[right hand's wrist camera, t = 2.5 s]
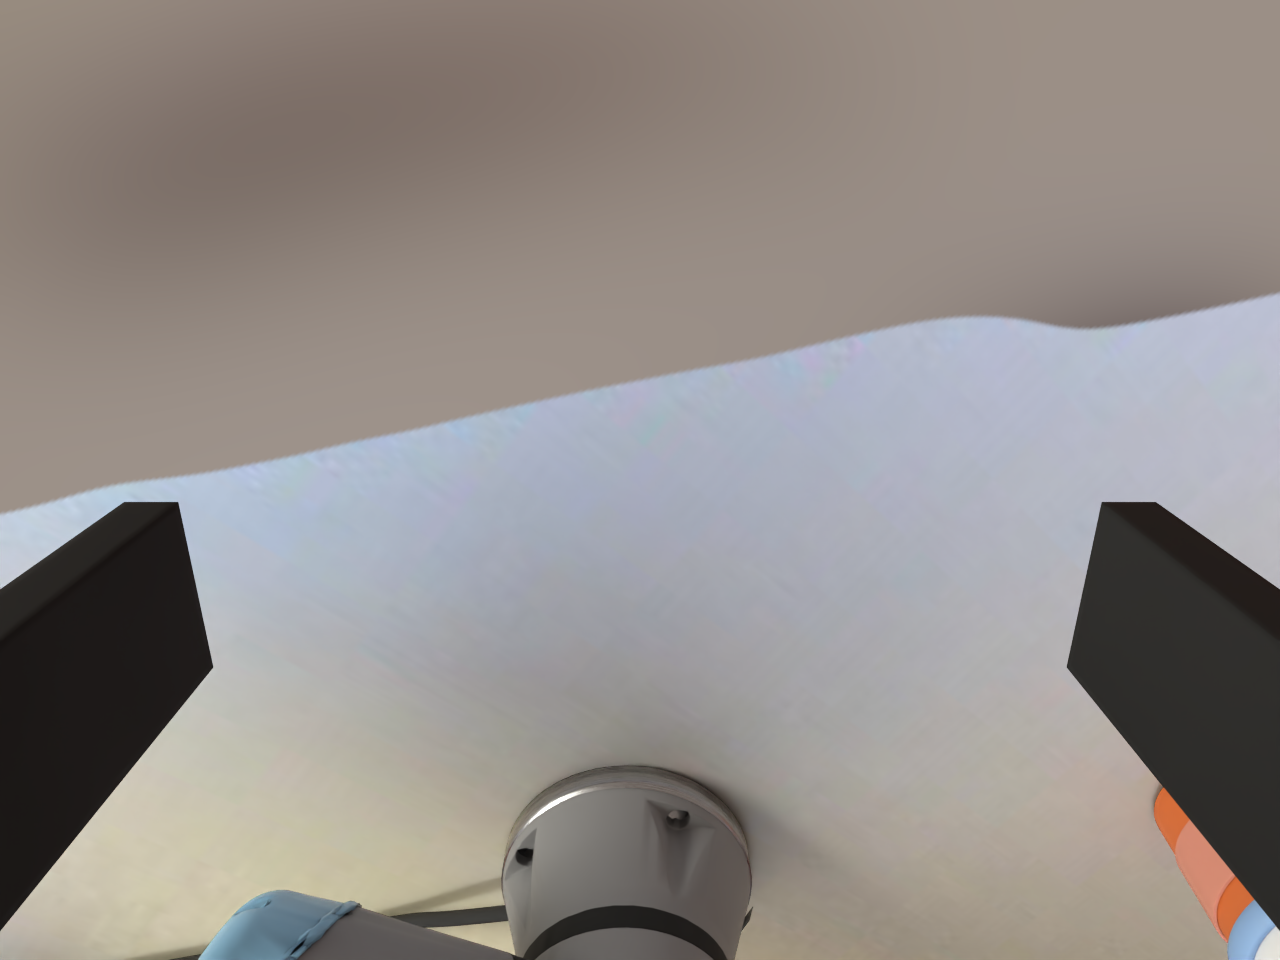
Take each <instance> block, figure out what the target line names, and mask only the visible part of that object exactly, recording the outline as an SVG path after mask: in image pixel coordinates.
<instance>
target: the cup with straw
mask: <svg viewBox="0 0 1280 960" xmlns="http://www.w3.org/2000/svg"><path fill="white" fill-rule="evenodd" d="M1154 816H1155V820H1156V823H1157V825H1158V827H1159V829H1160V831H1161V832H1162V834H1163V836H1164V837H1165V839H1166V841H1167V842H1168V844H1169V846H1170V847H1171V849H1172V851H1173V852H1174V854H1175V857H1176V861H1177V864H1178V866H1179V868H1180V870H1181V872H1182V874H1183V875H1184V877H1185V879H1186V880H1187V882H1188V884H1189V885H1190V887H1191V888H1192V890H1193V892H1194V893H1195V895H1196V897H1197V898H1198V900H1199V902H1200V903H1201V905H1202V907H1203V908H1204V910H1205V912H1206V913H1207V915H1208V917H1209V918H1210V920H1211V922H1212V923H1213V925H1214V927H1215V928H1216V930H1217V931H1218V933H1219V934H1220V936H1221V937H1222V938H1223V939H1224V940H1225V941H1226V942H1227V943H1228V950H1227V953H1228V960H1280V931H1279V929H1278V928H1277V927H1276V926H1275V924H1274V923H1273V922H1272V921H1271V919H1270V918H1269V917H1268V916H1267V915H1266V913H1265V912H1264V911H1263V910H1262V908H1261V907H1260V906H1259V905H1258V903H1257V902H1256V901H1255V900H1254V898H1253V897H1252V896H1251V895H1250V893H1249V892H1248V891H1247V890H1246V889H1245V887H1244V886H1243V885H1242V884H1241V882H1240V881H1239V880H1238V879H1237V877H1236V876H1235V875H1234V874H1233V872H1232V871H1231V870H1230V869H1229V867H1228V866H1227V865H1226V864H1225V863H1224V861H1223V860H1222V859H1221V858H1220V856H1219V855H1218V854H1217V853H1216V851H1215V850H1214V849H1213V848H1212V846H1211V845H1210V844H1209V843H1208V841H1207V840H1206V839H1205V838H1204V837H1203V835H1202V834H1201V833H1200V832H1199V830H1198V829H1197V828H1196V827H1195V825H1194V824H1193V823H1192V822H1191V820H1190V819H1189V818H1188V817H1187V816H1186V814H1185V813H1184V812H1183V811H1182V809H1181V808H1180V807H1179V806H1178V804H1177V803H1176V802H1175V801H1174V799H1173V798H1172V797H1171V796H1170V794H1169V793H1168V792H1167V791H1166V790H1165V788H1164V787H1163V788H1162V790H1161V791H1160V793H1159V795H1158V797H1157V799H1156V802H1155V806H1154Z"/></svg>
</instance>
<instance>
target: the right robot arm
mask: <svg viewBox="0 0 1280 960" xmlns="http://www.w3.org/2000/svg"><path fill="white" fill-rule="evenodd" d="M212 668H213V664H212V659H211V654H210V650H209V645H208V640H207V635H206V631H205V626H204V621H203V617H202V612H201V607H200V603H199V598H198V593H197V588H196V584H195V579H194V574H193V570H192V565H191V560H190V556H189V551H188V546H187V541H186V537H185V532H184V527H183V523H182V518H181V513H180V509H179V504H178V502H124V503H122V504H121V505H119V506H118V507H117V508H115V509H114V510H112V511H111V512H110V513H108V514H107V515H105V516H104V517H102V518H101V519H100V520H98V521H97V522H95V523H94V524H93V525H91V526H90V527H88V528H87V529H85V530H84V531H83V532H81V533H80V534H78V535H77V536H75V537H74V538H73V539H71V540H70V541H68V542H67V543H66V544H64V545H63V546H61V547H60V548H58V549H57V550H56V551H54V552H53V553H51V554H50V555H48V556H47V557H46V558H44V559H43V560H41V561H40V562H39V563H37V564H36V565H34V566H33V567H31V568H30V569H29V570H27V571H26V572H24V573H23V574H21V575H20V576H19V577H17V578H16V579H14V580H13V581H12V582H10V583H9V584H7V585H6V586H4V587H3V588H2V589H0V931H1V929H2V928H3V927H4V926H5V924H6V923H7V922H8V921H9V919H10V918H11V917H12V916H13V915H14V913H15V912H16V911H17V910H18V908H19V907H20V906H21V905H22V903H23V902H24V901H25V900H26V898H27V897H28V896H29V895H30V893H31V892H32V891H33V890H34V889H35V887H36V886H37V885H38V884H39V882H40V881H41V880H42V879H43V877H44V876H45V875H46V874H47V872H48V871H49V870H50V869H51V867H52V866H53V865H54V864H55V863H56V861H57V860H58V859H59V858H60V856H61V855H62V854H63V853H64V851H65V850H66V849H67V848H68V846H69V845H70V844H71V843H72V841H73V840H74V839H75V838H76V837H77V835H78V834H79V833H80V832H81V830H82V829H83V828H84V827H85V825H86V824H87V823H88V822H89V820H90V819H91V818H92V817H93V816H94V814H95V813H96V812H97V811H98V809H99V808H100V807H101V806H102V804H103V803H104V802H105V801H106V799H107V798H108V797H109V796H110V794H111V793H112V792H113V791H114V790H115V788H116V787H117V786H118V785H119V783H120V782H121V781H122V780H123V778H124V777H125V776H126V775H127V773H128V772H129V771H130V770H131V768H132V767H133V766H134V765H135V764H136V762H137V761H138V760H139V759H140V757H141V756H142V755H143V754H144V752H145V751H146V750H147V749H148V747H149V746H150V745H151V744H152V742H153V741H154V740H155V739H156V738H157V736H158V735H159V734H160V733H161V731H162V730H163V729H164V728H165V726H166V725H167V724H168V723H169V721H170V720H171V719H172V718H173V716H174V715H175V714H176V713H177V712H178V710H179V709H180V708H181V707H182V705H183V704H184V703H185V702H186V700H187V699H188V698H189V697H190V695H191V694H192V693H193V692H194V690H195V689H196V688H197V687H198V686H199V684H200V683H201V682H202V681H203V679H204V678H205V677H206V676H207V674H208V673H209V672H210V671H211V669H212ZM1067 668H1068V669H1069V671H1070V672H1071V673H1072V674H1073V676H1074V677H1075V678H1076V679H1077V681H1078V682H1079V683H1080V684H1081V686H1082V687H1083V688H1084V689H1085V690H1086V692H1087V693H1088V694H1089V695H1090V697H1091V698H1092V699H1093V700H1094V702H1095V703H1096V704H1097V705H1098V707H1099V708H1100V709H1101V710H1102V712H1103V713H1104V714H1105V715H1106V716H1107V718H1108V719H1109V720H1110V721H1111V723H1112V724H1113V725H1114V726H1115V728H1116V729H1117V730H1118V731H1119V733H1120V734H1121V735H1122V736H1123V738H1124V739H1125V740H1126V741H1127V742H1128V744H1129V745H1130V746H1131V747H1132V749H1133V750H1134V751H1135V752H1136V754H1137V755H1138V756H1139V757H1140V759H1141V760H1142V761H1143V762H1144V764H1145V765H1146V766H1147V767H1148V768H1149V770H1150V771H1151V772H1152V773H1153V775H1154V776H1155V777H1156V778H1157V780H1158V781H1159V782H1160V783H1161V785H1162V786H1163V787H1164V788H1165V790H1166V791H1167V792H1168V793H1169V794H1170V796H1171V797H1172V798H1173V799H1174V801H1175V802H1176V803H1177V804H1178V806H1179V807H1180V808H1181V809H1182V811H1183V812H1184V813H1185V814H1186V816H1187V817H1188V818H1189V819H1190V820H1191V822H1192V823H1193V824H1194V825H1195V827H1196V828H1197V829H1198V830H1199V832H1200V833H1201V834H1202V835H1203V837H1204V838H1205V839H1206V840H1207V841H1208V843H1209V844H1210V845H1211V846H1212V848H1213V849H1214V850H1215V851H1216V853H1217V854H1218V855H1219V856H1220V858H1221V859H1222V860H1223V861H1224V863H1225V864H1226V865H1227V866H1228V867H1229V869H1230V870H1231V871H1232V872H1233V874H1234V875H1235V876H1236V877H1237V879H1238V880H1239V881H1240V882H1241V884H1242V885H1243V886H1244V887H1245V889H1246V890H1247V891H1248V892H1249V893H1250V895H1251V896H1252V897H1253V898H1254V900H1255V901H1256V902H1257V903H1258V905H1259V906H1260V907H1261V908H1262V910H1263V911H1264V912H1265V913H1266V915H1267V916H1268V917H1269V918H1270V919H1271V921H1272V922H1273V923H1274V924H1275V926H1276V927H1277V928H1278V929H1279V931H1280V589H1278V588H1277V587H1276V586H1274V585H1273V584H1271V583H1270V582H1268V581H1267V580H1266V579H1264V578H1263V577H1261V576H1260V575H1259V574H1257V573H1256V572H1254V571H1253V570H1251V569H1250V568H1249V567H1247V566H1246V565H1244V564H1243V563H1241V562H1240V561H1239V560H1237V559H1236V558H1234V557H1233V556H1232V555H1230V554H1229V553H1227V552H1226V551H1224V550H1223V549H1222V548H1220V547H1219V546H1217V545H1216V544H1214V543H1213V542H1212V541H1210V540H1209V539H1207V538H1206V537H1205V536H1203V535H1202V534H1200V533H1199V532H1197V531H1196V530H1195V529H1193V528H1192V527H1190V526H1189V525H1187V524H1186V523H1185V522H1183V521H1182V520H1180V519H1179V518H1178V517H1176V516H1175V515H1173V514H1172V513H1170V512H1169V511H1168V510H1166V509H1165V508H1163V507H1162V506H1161V505H1159V504H1158V503H1156V502H1102V504H1101V509H1100V513H1099V518H1098V523H1097V527H1096V532H1095V537H1094V541H1093V546H1092V551H1091V556H1090V560H1089V565H1088V570H1087V574H1086V579H1085V584H1084V588H1083V593H1082V598H1081V603H1080V607H1079V612H1078V617H1077V621H1076V626H1075V631H1074V635H1073V640H1072V645H1071V650H1070V654H1069V659H1068V664H1067ZM751 887H752V876H751V870H750V863H749V856H748V850H747V844H746V840H745V837H744V834H743V831H742V829H741V827H740V825H739V823H738V821H737V820H736V818H735V816H734V815H733V814H732V812H731V811H730V810H729V809H728V807H727V806H726V805H725V804H724V803H723V802H722V801H721V800H720V799H719V798H718V797H716V796H715V795H714V794H713V793H711V792H710V791H709V790H707V789H706V788H704V787H703V786H701V785H699V784H697V783H696V782H694V781H692V780H690V779H687V778H685V777H683V776H680V775H677V774H675V773H671V772H668V771H664V770H660V769H655V768H650V767H640V766H612V767H604V768H598V769H593V770H588V771H585V772H582V773H578V774H575V775H573V776H570V777H568V778H565V779H563V780H561V781H559V782H557V783H556V784H554V785H552V786H551V787H549V788H547V789H546V790H544V791H543V792H542V793H541V794H539V795H538V796H537V797H536V798H535V799H534V800H532V801H531V802H530V803H529V804H528V806H527V807H526V808H525V809H524V810H523V811H522V813H521V814H520V816H519V817H518V819H517V820H516V822H515V824H514V826H513V828H512V830H511V833H510V836H509V839H508V843H507V848H506V853H505V858H504V864H503V869H502V893H503V898H504V902H505V905H502V906H493V907H484V908H475V909H465V910H454V911H440V912H422V913H411V914H404V915H398V916H392V917H388V916H385V915H382V914H379V913H376V912H373V911H370V910H367V909H364V908H361V907H362V905H360V904H359V903H356V902H354V901H348V902H345V903H341V902H336V901H332V900H327V899H323V898H318V897H314V896H309V895H305V894H301V893H298V892H294V891H289V890H276V891H270V892H267V893H264V894H261V895H259V896H257V897H255V898H253V899H252V900H250V901H249V902H247V903H246V904H245V905H243V906H242V907H241V908H240V909H239V910H238V911H237V912H236V913H235V914H234V915H233V916H232V917H231V918H230V919H229V920H228V921H227V923H226V924H225V925H224V926H223V927H222V928H221V929H220V931H219V932H218V933H217V935H216V936H215V937H214V938H213V940H212V941H211V942H210V944H209V945H208V946H207V948H206V949H205V950H204V952H203V953H202V954H200V955H194V956H189V957H183V958H177V959H171V960H734V959H735V955H736V951H737V947H738V943H739V939H740V935H741V931H742V930H743V928H744V927H745V926H746V924H747V923H748V922H749V920H750V916H751V912H752V908H753V907H752V908H751V910H750V911H749V912H748V914H747V915H746V916H745V914H746V910H747V907H748V904H749V900H750V896H751ZM501 921H509V925H510V930H511V934H512V939H513V944H514V949H515V953H516V956H515V955H512V954H510V953H508V952H504V951H501V950H498V949H494V948H491V947H487V946H484V945H481V944H477V943H474V942H471V941H467V940H464V939H460V938H457V937H454V936H450V935H447V934H444V933H440V932H437V931H434V930H430V929H427V927H448V926H461V925H471V924H481V923H491V922H501Z"/></svg>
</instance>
